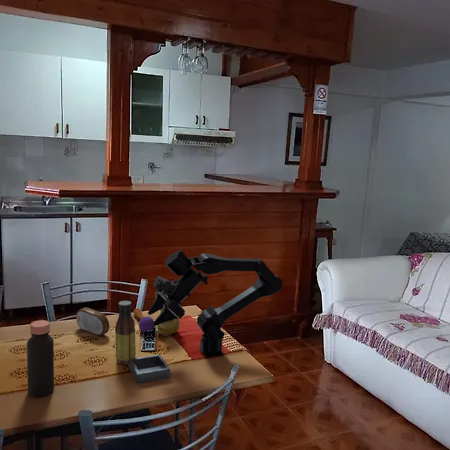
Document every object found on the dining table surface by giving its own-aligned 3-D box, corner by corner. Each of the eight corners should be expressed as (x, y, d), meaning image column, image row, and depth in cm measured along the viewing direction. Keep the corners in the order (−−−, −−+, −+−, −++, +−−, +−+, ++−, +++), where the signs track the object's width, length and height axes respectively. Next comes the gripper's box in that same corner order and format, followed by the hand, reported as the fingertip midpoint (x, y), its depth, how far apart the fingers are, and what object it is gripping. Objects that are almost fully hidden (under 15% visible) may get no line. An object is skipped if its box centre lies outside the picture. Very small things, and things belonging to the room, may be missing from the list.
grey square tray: (159, 363, 150) (160, 354, 150) (170, 377, 141) (170, 368, 141) (128, 368, 146) (128, 359, 146) (137, 383, 137) (137, 374, 137)
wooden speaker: (109, 336, 168) (110, 314, 167) (103, 339, 166) (103, 316, 164) (81, 325, 176) (81, 304, 175) (74, 328, 173) (74, 306, 172)
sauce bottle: (131, 355, 155) (132, 297, 151) (138, 363, 150) (140, 304, 146) (112, 359, 151) (112, 300, 148) (119, 367, 146) (120, 307, 143)
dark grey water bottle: (28, 399, 126) (26, 329, 122) (27, 387, 132) (26, 320, 128) (54, 395, 129) (54, 326, 125) (53, 383, 135) (52, 317, 131)
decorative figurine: (159, 327, 179) (161, 289, 176) (181, 328, 178) (182, 291, 176) (154, 337, 169) (155, 297, 167) (176, 339, 169) (178, 299, 166)
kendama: (145, 305, 190) (158, 320, 172) (143, 319, 190) (155, 335, 172) (131, 304, 188) (142, 318, 169) (128, 318, 188) (139, 334, 170)
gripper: (163, 261, 158) (129, 294, 156) (176, 277, 141) (138, 314, 139) (184, 282, 162) (152, 314, 160) (200, 300, 145) (163, 336, 143)
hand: (151, 319), depth 151 cm, fingers open, 9 cm apart
